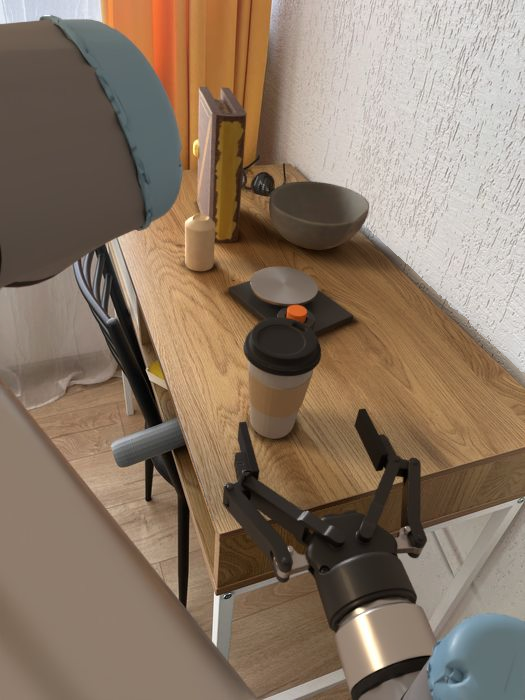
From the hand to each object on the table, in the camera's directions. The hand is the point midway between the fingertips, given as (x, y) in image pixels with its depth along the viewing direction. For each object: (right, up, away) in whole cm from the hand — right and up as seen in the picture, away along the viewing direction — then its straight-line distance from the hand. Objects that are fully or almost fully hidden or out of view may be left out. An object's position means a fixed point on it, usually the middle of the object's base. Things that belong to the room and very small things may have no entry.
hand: (302, 423), depth 58 cm
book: (-15, +38, +60) cm, 72 cm away
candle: (-17, +25, +44) cm, 53 cm away
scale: (0, +16, +36) cm, 39 cm away
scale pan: (-1, +19, +35) cm, 40 cm away
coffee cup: (-3, -2, +14) cm, 15 cm away
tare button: (+1, +13, +28) cm, 31 cm away
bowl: (+6, +31, +55) cm, 64 cm away
